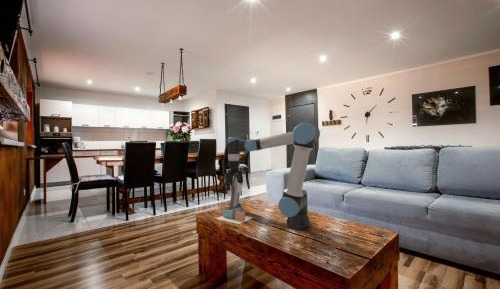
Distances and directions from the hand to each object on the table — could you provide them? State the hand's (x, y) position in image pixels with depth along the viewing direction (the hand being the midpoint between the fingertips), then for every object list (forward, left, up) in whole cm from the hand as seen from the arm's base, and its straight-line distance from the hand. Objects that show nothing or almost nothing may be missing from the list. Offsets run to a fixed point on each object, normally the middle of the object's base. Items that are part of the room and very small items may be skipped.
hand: (234, 194), depth 156 cm
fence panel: (0, -6, -19) cm, 20 cm away
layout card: (+7, -8, -20) cm, 22 cm away
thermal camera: (+19, -23, -20) cm, 36 cm away
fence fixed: (+10, -6, -20) cm, 23 cm away
